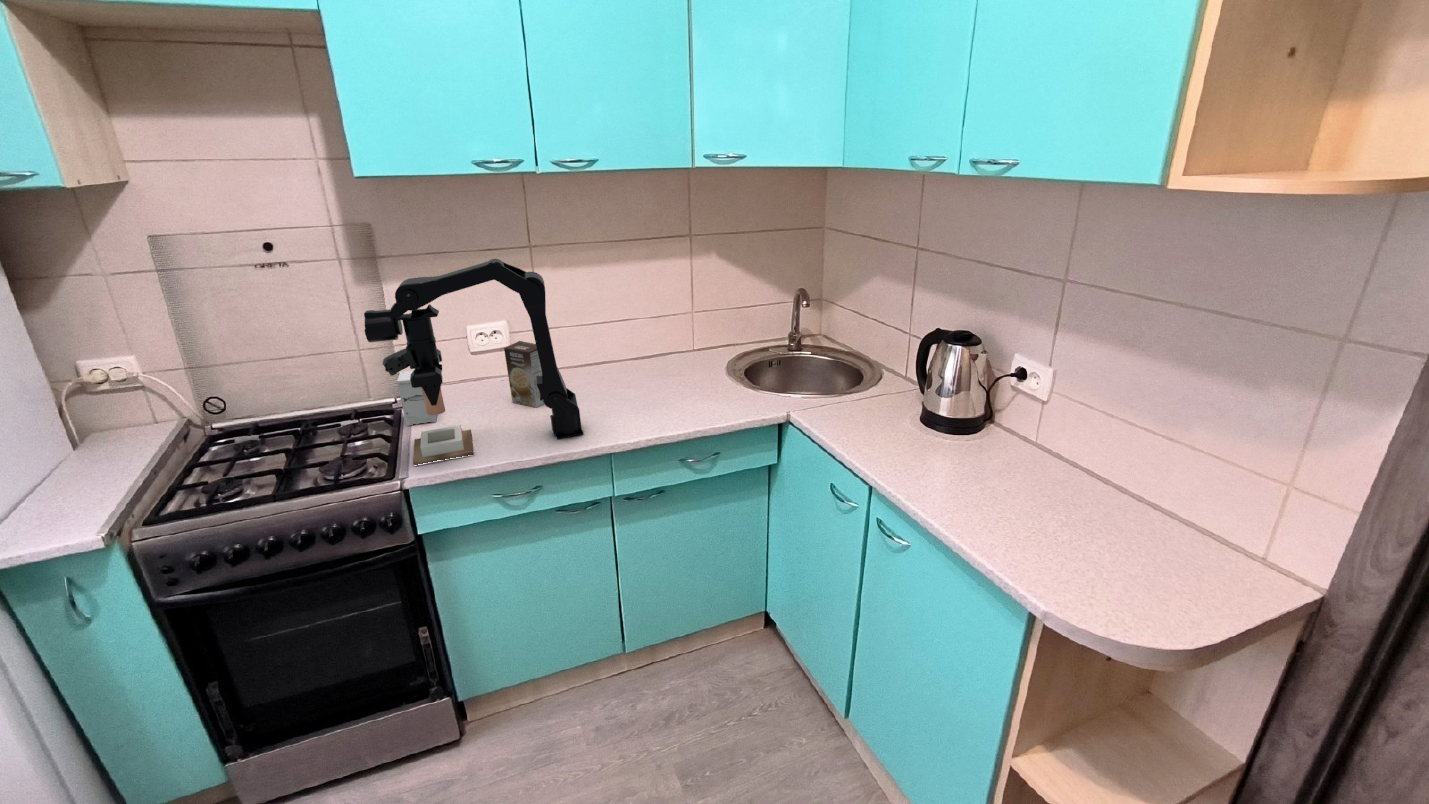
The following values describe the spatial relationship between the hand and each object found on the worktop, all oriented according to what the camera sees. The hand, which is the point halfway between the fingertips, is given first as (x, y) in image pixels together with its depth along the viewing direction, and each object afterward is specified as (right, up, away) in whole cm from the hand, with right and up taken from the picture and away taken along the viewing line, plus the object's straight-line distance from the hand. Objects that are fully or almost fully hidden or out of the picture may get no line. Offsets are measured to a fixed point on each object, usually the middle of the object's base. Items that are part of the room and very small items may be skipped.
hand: (434, 401), depth 155 cm
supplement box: (-12, -5, +22) cm, 25 cm away
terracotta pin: (0, -2, +1) cm, 2 cm away
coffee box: (+14, 0, +30) cm, 34 cm away
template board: (0, -11, +5) cm, 12 cm away
